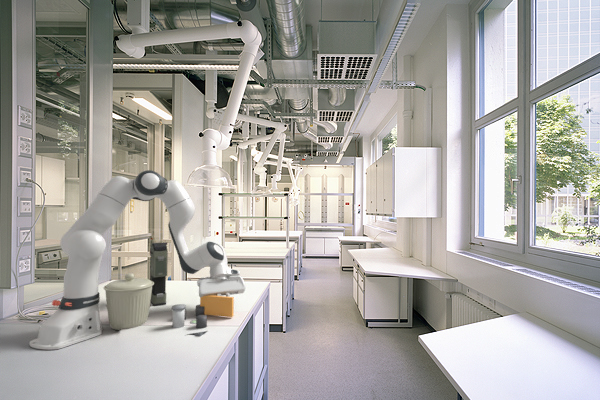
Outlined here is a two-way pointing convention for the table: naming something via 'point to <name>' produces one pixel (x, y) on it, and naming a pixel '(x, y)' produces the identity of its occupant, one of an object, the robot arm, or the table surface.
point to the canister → (128, 301)
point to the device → (158, 273)
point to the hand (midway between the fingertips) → (224, 303)
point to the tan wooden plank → (216, 306)
